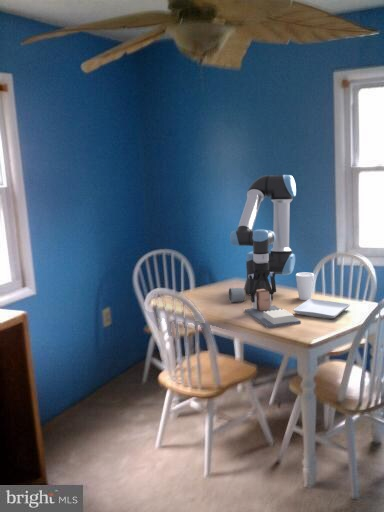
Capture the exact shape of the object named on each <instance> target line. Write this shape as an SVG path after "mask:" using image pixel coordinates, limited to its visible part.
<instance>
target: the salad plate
mask: <svg viewBox="0 0 384 512" xmlns="http://www.w3.org/2000/svg"><path fill="white" fill-rule="evenodd" d="M350 306H351V305H350V303H345V302H339V301H331V300H323V299H314V298H311V299H309V300H305V301H304V302H303V303H301V304H299V305H297V306H296V307H295V308H293V310H292V312H294V313H295V314H298V315H301V316H306V317H313V318H321V319H331V320H332V319H335V318H336V317H337V316H339V315H340V314H342V312H344V311H345V310H347V309H348V308H349V307H350Z"/></svg>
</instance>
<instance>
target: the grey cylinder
mask: <svg viewBox="0 0 384 512" xmlns="http://www.w3.org/2000/svg"><path fill="white" fill-rule="evenodd" d="M246 299H247V294H246V291H245V289H244V287H229V289H228V300H229V302H230V303H240V302H244V301H246Z"/></svg>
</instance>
